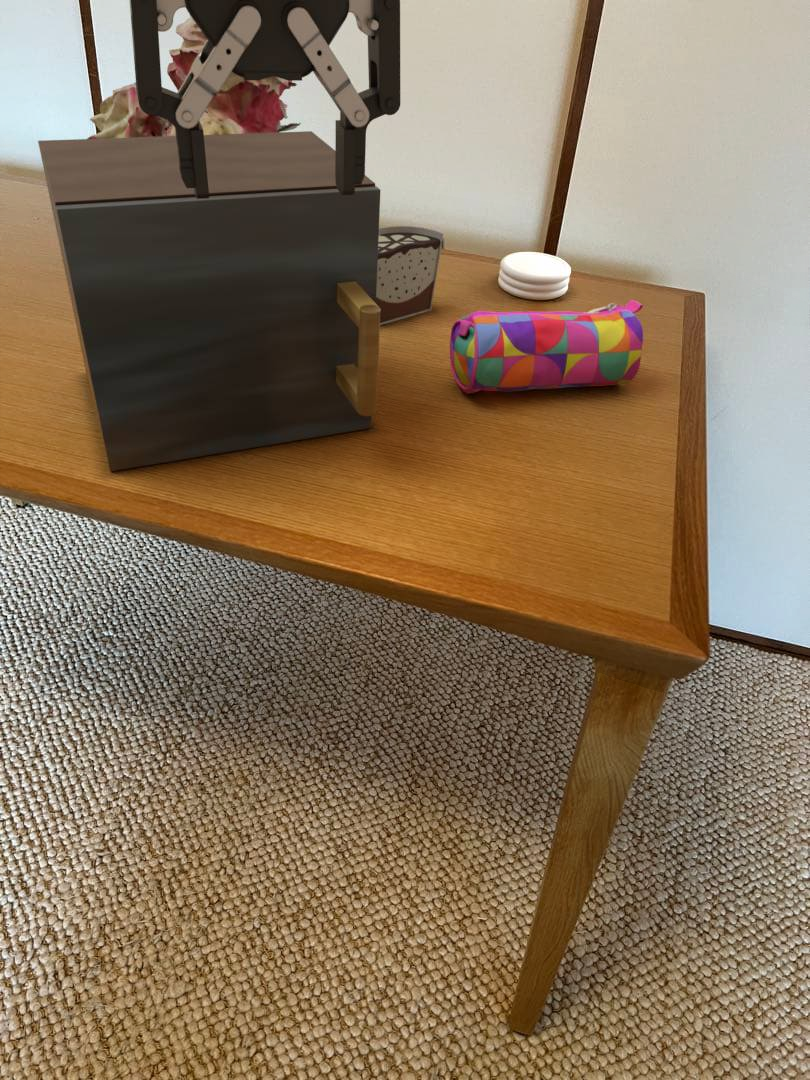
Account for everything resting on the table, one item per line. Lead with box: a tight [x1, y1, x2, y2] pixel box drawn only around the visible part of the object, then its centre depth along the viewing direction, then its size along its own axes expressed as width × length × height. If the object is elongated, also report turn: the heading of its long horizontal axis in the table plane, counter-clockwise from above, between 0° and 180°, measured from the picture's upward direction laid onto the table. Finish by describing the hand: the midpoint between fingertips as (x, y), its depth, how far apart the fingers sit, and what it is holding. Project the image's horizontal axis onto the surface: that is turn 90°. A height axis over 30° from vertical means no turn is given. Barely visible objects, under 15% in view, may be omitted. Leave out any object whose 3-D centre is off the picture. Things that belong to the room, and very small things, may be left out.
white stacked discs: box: [497, 251, 572, 301], centre depth 116 cm, size 10×10×4 cm
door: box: [56, 185, 381, 472], centre depth 70 cm, size 8×26×24 cm, turn 113°
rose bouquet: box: [86, 15, 302, 139], centre depth 108 cm, size 26×29×30 cm
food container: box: [376, 225, 446, 326], centre depth 105 cm, size 12×6×10 cm, turn 130°
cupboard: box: [37, 130, 376, 462], centre depth 80 cm, size 18×26×24 cm
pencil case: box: [449, 299, 644, 395], centre depth 92 cm, size 22×9×9 cm, turn 108°
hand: (275, 193), depth 48 cm, fingers open, 8 cm apart
